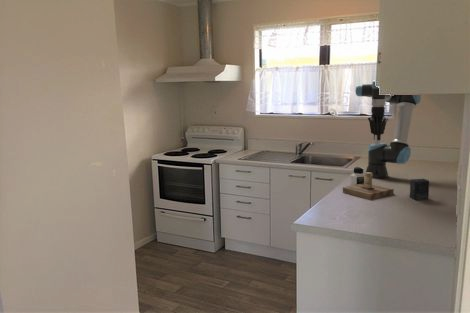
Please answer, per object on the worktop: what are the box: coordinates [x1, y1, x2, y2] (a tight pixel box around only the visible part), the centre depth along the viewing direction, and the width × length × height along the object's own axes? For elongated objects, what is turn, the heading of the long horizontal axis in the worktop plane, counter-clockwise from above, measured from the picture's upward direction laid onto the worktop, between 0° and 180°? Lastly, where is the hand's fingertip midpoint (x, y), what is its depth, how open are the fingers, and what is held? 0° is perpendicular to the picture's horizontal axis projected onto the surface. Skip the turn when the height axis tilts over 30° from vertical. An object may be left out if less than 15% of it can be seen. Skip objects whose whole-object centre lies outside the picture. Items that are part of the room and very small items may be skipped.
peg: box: [363, 171, 373, 190], centre depth 227 cm, size 4×4×12 cm
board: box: [342, 183, 395, 200], centre depth 227 cm, size 20×20×3 cm
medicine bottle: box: [350, 166, 365, 186], centre depth 244 cm, size 7×7×12 cm
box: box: [409, 178, 430, 201], centre depth 213 cm, size 8×6×11 cm
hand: (376, 145), depth 236 cm, fingers closed
